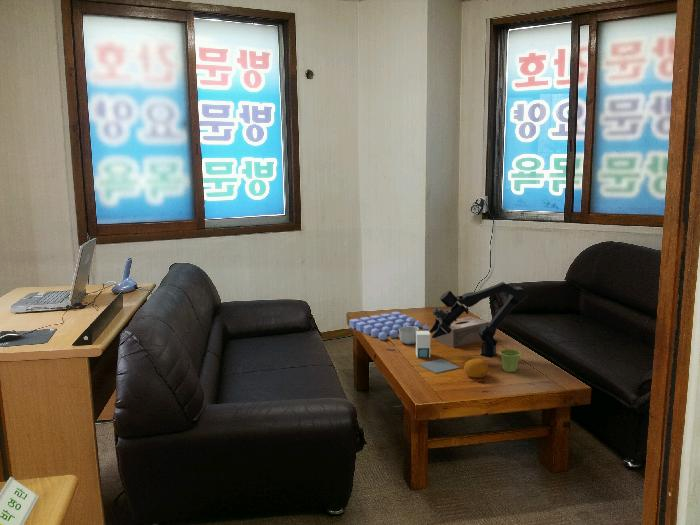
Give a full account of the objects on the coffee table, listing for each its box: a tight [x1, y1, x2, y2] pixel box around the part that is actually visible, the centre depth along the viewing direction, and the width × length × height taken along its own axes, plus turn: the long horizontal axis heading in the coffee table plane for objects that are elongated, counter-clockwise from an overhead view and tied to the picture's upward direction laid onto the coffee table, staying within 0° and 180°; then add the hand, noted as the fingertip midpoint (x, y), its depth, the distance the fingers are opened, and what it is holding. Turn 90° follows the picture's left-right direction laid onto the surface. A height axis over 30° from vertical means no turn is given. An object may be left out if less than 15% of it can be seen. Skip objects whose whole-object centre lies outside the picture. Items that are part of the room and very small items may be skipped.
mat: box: [418, 358, 461, 374], centre depth 280 cm, size 14×14×1 cm
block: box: [418, 348, 428, 358], centre depth 296 cm, size 4×4×4 cm
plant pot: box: [499, 348, 522, 373], centre depth 274 cm, size 9×9×9 cm
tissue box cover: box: [434, 316, 490, 348], centre depth 320 cm, size 26×14×10 cm, turn 123°
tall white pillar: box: [415, 330, 431, 359], centre depth 295 cm, size 7×7×12 cm
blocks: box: [348, 311, 430, 342], centre depth 343 cm, size 35×34×5 cm
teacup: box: [398, 326, 420, 345], centre depth 318 cm, size 14×11×8 cm
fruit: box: [463, 358, 489, 379], centre depth 267 cm, size 10×10×8 cm
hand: (431, 334), depth 294 cm, fingers open, 9 cm apart
